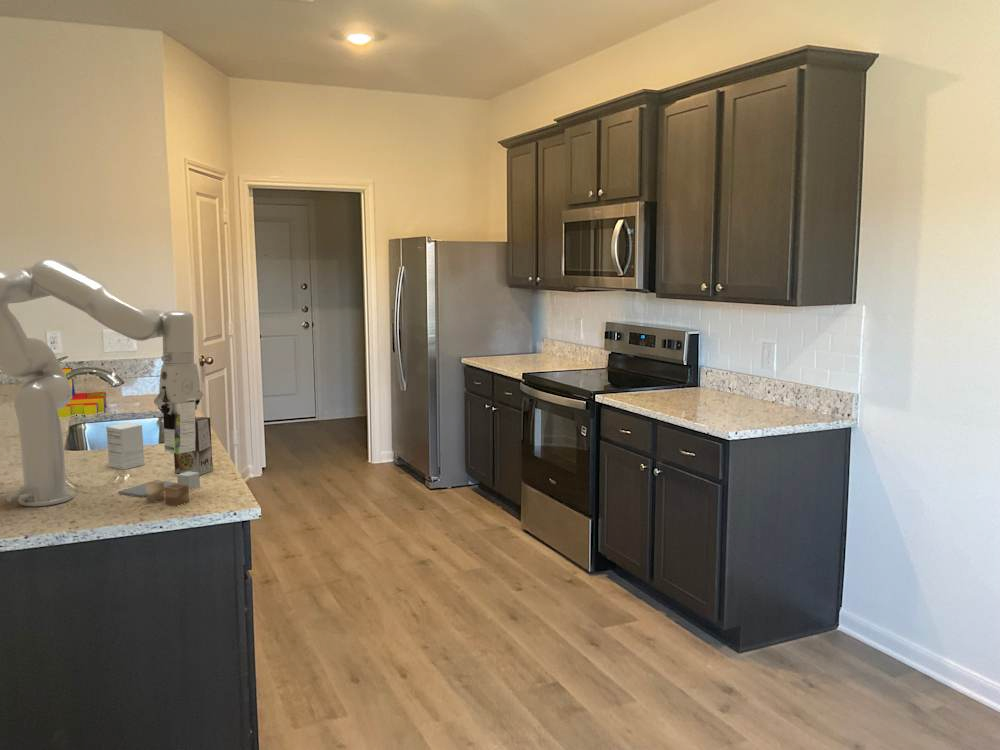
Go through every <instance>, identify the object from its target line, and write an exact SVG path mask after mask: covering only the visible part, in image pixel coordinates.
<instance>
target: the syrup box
mask: <svg viewBox="0 0 1000 750" xmlns="http://www.w3.org/2000/svg"><path fill="white" fill-rule="evenodd" d="M169 406H170V405H168V408H169ZM172 414H174V415H175V428H174V429H173V430H171V429H165V428H164V427H163V428H164V451H165V452H168V453H173V454H174V453H175V454H181V453H186V452H190V451H195V417H196V410H195V398H190V399H187V401H186V402H183V403H179V404H174V410H173V413H172Z"/></svg>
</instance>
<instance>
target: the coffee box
mask: <svg viewBox="0 0 1000 750" xmlns="http://www.w3.org/2000/svg"><path fill="white" fill-rule="evenodd" d="M212 448H213V446H212V427H211V417H206V416H205V417H204V416H195V451H190V452H186V453H181V454H175V453H173V460H174V474H177V473H184V472H188V471H190V472H197V473H199V476H202V475H204V474H207V473H209V472H210V473H211V472H212V471H214V465H213V464H214V463H213V449H212Z"/></svg>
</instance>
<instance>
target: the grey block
mask: <svg viewBox="0 0 1000 750" xmlns="http://www.w3.org/2000/svg"><path fill="white" fill-rule="evenodd" d="M176 476H177V478H176V479H177V483H178V484H182V485H188V489H191V490H193V489H192V488H194V489H196V488H195V487H197V488H199V487H198V486H200V487H201V480H200V476H201V475H199V473H197V472H190V471H188V472H184V473H181V474H177V475H176Z"/></svg>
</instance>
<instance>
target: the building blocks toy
mask: <svg viewBox="0 0 1000 750" xmlns="http://www.w3.org/2000/svg"><path fill="white" fill-rule="evenodd" d="M62 369H63V371H64V373H65V375H66V374H67V373H69V372H71V371H73V367H62ZM69 383H70V385H71V388H72V398H71V400H70V402H69V403H68V404H67V405H66V406H65V407H63V408H62V409H59V410H58V415H59V417H67V416H71V415H75V414H84V415H89V414H97V413H98V412H104V411H105V412H106V410H105V408H106V409H107V406H106V405H107V393H106V391H98V392H97V391H94V392H93V391H92V392H77V393H76V391H75V390H76V389H75V385H74V384H75V383H74V378H73V379H71V380H69Z"/></svg>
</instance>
